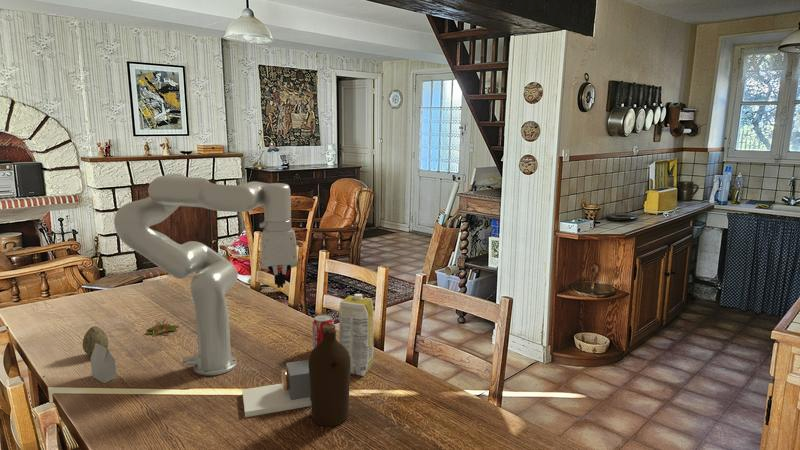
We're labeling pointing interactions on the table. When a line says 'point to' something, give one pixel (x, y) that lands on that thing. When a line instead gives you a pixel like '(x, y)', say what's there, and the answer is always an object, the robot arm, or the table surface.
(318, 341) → the soda can
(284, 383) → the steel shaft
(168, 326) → the green leafy plant
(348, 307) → the juice carton
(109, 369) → the grey angular block
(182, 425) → the table surface
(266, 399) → the bearing board
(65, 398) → the table surface
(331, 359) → the olive oil
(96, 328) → the decorative egg
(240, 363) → the table surface
